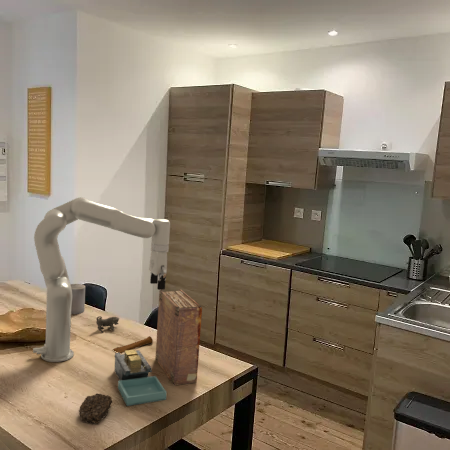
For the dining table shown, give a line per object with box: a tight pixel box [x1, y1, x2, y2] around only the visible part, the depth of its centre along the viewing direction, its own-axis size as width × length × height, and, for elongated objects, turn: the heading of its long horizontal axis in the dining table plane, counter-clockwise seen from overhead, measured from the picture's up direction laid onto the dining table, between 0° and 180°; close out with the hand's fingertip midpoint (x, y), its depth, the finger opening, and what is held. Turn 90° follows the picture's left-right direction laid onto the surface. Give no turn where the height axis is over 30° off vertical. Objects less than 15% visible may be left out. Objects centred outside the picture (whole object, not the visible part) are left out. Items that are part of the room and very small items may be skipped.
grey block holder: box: [114, 349, 153, 381], centre depth 179 cm, size 10×17×7 cm, turn 26°
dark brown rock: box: [78, 392, 113, 425], centre depth 152 cm, size 12×10×5 cm
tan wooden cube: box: [124, 349, 138, 362], centre depth 181 cm, size 4×4×3 cm
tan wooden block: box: [128, 355, 141, 368], centre depth 176 cm, size 4×4×3 cm
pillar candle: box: [70, 283, 86, 315], centre depth 249 cm, size 10×10×15 cm
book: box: [155, 289, 203, 386], centre depth 187 cm, size 25×9×30 cm, turn 24°
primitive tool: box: [112, 335, 153, 354], centre depth 209 cm, size 19×6×4 cm, turn 138°
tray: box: [117, 375, 167, 407], centre depth 167 cm, size 14×13×3 cm
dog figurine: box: [96, 315, 120, 334], centre depth 227 cm, size 12×6×7 cm, turn 125°
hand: (157, 286), depth 204 cm, fingers open, 9 cm apart
